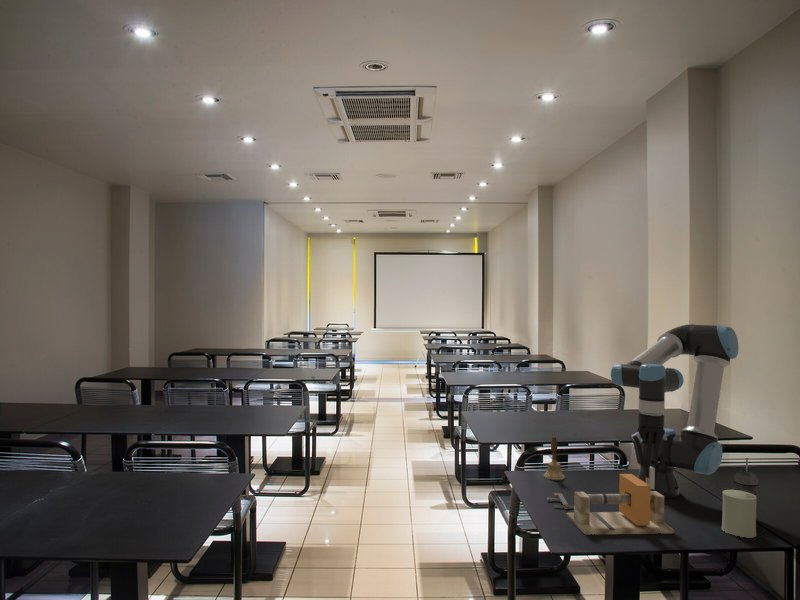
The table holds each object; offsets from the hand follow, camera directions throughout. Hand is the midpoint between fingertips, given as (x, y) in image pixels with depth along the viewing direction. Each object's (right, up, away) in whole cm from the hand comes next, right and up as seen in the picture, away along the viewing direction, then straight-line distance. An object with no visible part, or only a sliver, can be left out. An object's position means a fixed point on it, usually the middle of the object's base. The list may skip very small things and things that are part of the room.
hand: (649, 487), depth 180 cm
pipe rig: (-10, -11, -1) cm, 15 cm away
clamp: (-23, -12, +15) cm, 30 cm away
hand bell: (-18, -11, +47) cm, 51 cm away
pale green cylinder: (+25, -12, -5) cm, 28 cm away
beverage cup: (+34, -12, +7) cm, 37 cm away
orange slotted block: (-5, -9, 0) cm, 11 cm away
